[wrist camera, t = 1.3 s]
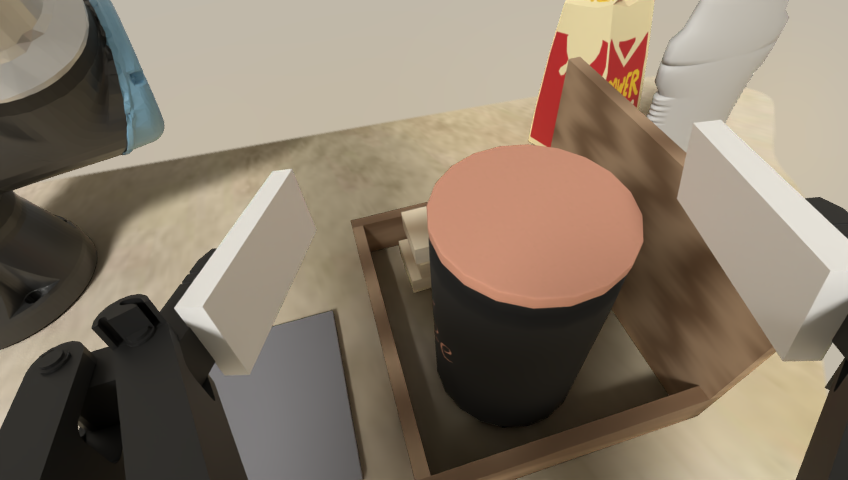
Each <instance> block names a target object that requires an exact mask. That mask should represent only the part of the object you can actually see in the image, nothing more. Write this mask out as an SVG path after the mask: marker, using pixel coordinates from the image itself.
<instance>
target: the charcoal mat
mask: <svg viewBox="0 0 848 480" xmlns="http://www.w3.org/2000/svg"><path fill="white" fill-rule="evenodd" d="M209 376H210V377H211V378H212V380H213V381H214V383H215V385H216V388H217V391H218V394H219V397H220V400H221V403H222V406H223V409H224V411H225V414H226V417H227V420H228V423H229V426H230V429H231V432H232V435H233V437H234V440H235V443H236V446H237V449H238V452H239V455H240V458H241V461H242V463H243V466H244V469H245V472H246V475H247V478H248V480H363V475H362V470H361V464H360V459H359V453H358V447H357V442H356V436H355V430H354V425H353V419H352V414H351V408H350V402H349V397H348V391H347V386H346V380H345V374H344V369H343V363H342V357H341V352H340V346H339V341H338V335H337V329H336V324H335V318H334V313H333V311H329V312H325V313H321V314H317V315H314V316H310V317H306V318H303V319H299V320H295V321H292V322H288V323H284V324H281V325H277V326H273V327H272V328H271V330H270V332H269V334H268V336H267V338H266V341H265V343H264V345H263V347H262V349H261V351H260V354H259V356H258V358H257V360H256V362H255V364H254V366H253V369H252V371H251V373H250V375H227V376H225V375H224V374H223V373H222V371H221V370H220V369H219V367H218V366H217V365H216V363H214V365H213V367H212V369H211V371H210V373H209Z"/></svg>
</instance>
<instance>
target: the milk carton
mask: <svg viewBox="0 0 848 480" xmlns="http://www.w3.org/2000/svg"><path fill="white" fill-rule="evenodd" d="M654 1H655V0H566V1H565V3H564V6H563V10H562V13H561V16H560V20H559V23H558V26H557V29H556V32H555V36H554V39H553V42H552V46H551V49H550V52H549V56H548V60H547V63H546V67H545V71H544V75H543V79H542V83H541V87H540V90H539V94H538V98H537V102H536V106H535V110H534V115H533V119H532V124H531V129H530V134H529V138H528V141H529V142H531V143H533V144H534V145H537V146H545V147H551V143H552V138H553V133H554V128H555V123H556V119H557V114H558V109H559V104H560V99H561V94H562V89H563V84H564V80H565V75H566V70H567V65H568V60H569V59H571V58H576V57H581V58H582V59H583V60H584V61H585V62H587V63H588V64H589V65H590V66H591V67H592V68H593V69H594V70H595V71H596V72H598V73H599V74H600V75H601V76H602V77H603V78H604V79H605V80H606V81H608V82H609V83H610V84H611V85H612V86H613V87H614V88H615V89H616V90H617V91H619V92H620V93H621V94H622V95H623V96H624V97H625V98H626V99H627V100H629V101H630V102H631V103H632V104H633V105H634V106H635V107H636V108H637V109H638V110H639V106H640V99H641V93H642V87H643V81H644V75H645V68H646V62H647V57H648V49H649V41H650V33H651V25H652V17H653V9H654Z"/></svg>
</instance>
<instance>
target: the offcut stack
mask: <svg viewBox="0 0 848 480" xmlns="http://www.w3.org/2000/svg"><path fill="white" fill-rule="evenodd" d="M401 215H402V222H403V228H404V231H405V234H406V237H407V239H405V240H401V241H399V248H400V254H401V257H402V260H403V263H404V266H405V269H406V272H407V275H408V278H409V281H410V284H411V287H412V290H413V293H414V292H418V291H421V290H425V289H429V288H432V287H431V273H430V258H429V240H428V239H429V234H428V225H427V207H426V206H425V207H421V208H417V209H413V210H409V211H405V212H401Z"/></svg>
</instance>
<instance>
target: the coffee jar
mask: <svg viewBox="0 0 848 480" xmlns="http://www.w3.org/2000/svg"><path fill="white" fill-rule="evenodd" d="M426 207H427V225H428V234H429V239H428V240H429V258H430V273H431V287H432V301H433V315H434V329H435V343H436V357H437V371H438V374H439V376H440V379H441V381H442V384H443V386H444V389H445V391H446V392H447V393H448V395H449V396H450V397H451V398H452V399H453V401H454V402H455V403H456V404H457V405H458V406H459V408H460V409H462V410H463V411H465V412H467V413H468V414H470V415H471V416H473V417H474V418H476V419H478V420H479V421H482V422H485V423H489V424H493V425H497V426H500V427H518V426H528V425H530V424H533V423H535V422H538V421H540V420H542V419H545V418H547V417H548V416H549V415H551V414H552V413H553V412H554V411H555V410H556V409H557V408H558V407H559V406H560V405H561V404H562V403H563V402H564V400H565V398H566V396H567V394H568V392H569V390H570V388H571V386H572V384H573V382H574V380H575V378H576V376H577V374H578V373H579V371H580V369H581V367H582V365H583V363H584V361H585V359H586V357H587V355H588V353H589V351H590V349H591V347H592V345H593V343H594V341H595V339H596V337H597V335H598V334H599V332H600V330H601V328H602V326H603V324H604V322H605V320H606V318H607V316H608V314H609V312H610V310H611V308H612V306H613V304H614V302H615V300H616V298H617V296H618V294H619V292H620V290H621V288H622V285H623V283H624V281H625V279H626V277H627V274H628V272H629V271H630V269H631V268H632V266H633V264H634V262H635V260H636V258H637V255H638V253H639V251H640V249H641V247H642V245H643V242H644V241H643V218H642V213H641V211H640V209H639V207H638V205H637V203H636V201H635V199H634V197H633V195H632V193H631V192H630V191H629V190H628V189H627V188H626V187H625V186H624V185H623V184H622V183H621V182H620V181H619V180H618V179H617V178H616V177H615V176H614V175H613V174H612V173H611V172H610V171H608V170H606V169H605V168H603V167H601V166H600V165H598V164H596V163H595V162H593V161H591V160H589V159H588V158H586V157H583V156H580V155H577V154H574V153H571V152H568V151H565V150H562V149H559V148H553V147H545V146H537V145H529V144H527V145H512V146H499V147H495V148H492V149H488V150H485V151H481V152H478V153H474V154H472V155H470V156H469V157H467V158H465V159H463V160H462V161H460V162H458V163H456V164H455V165H453V166H451V167H450V168H449V169H448V171H447V172H446V173H445V174H444V175H443V176H442V177H441V178H440V179H439V180H438V181H437V182H436V183H435V186H434V188H433V191H432V193H431V196H430V199H429V201H428V204H427V206H426Z"/></svg>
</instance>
